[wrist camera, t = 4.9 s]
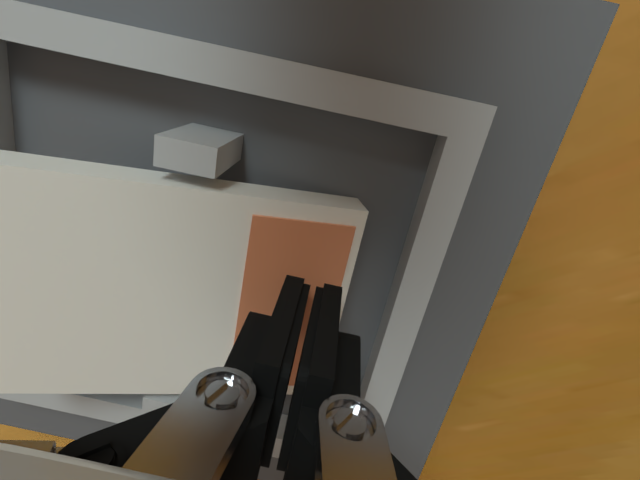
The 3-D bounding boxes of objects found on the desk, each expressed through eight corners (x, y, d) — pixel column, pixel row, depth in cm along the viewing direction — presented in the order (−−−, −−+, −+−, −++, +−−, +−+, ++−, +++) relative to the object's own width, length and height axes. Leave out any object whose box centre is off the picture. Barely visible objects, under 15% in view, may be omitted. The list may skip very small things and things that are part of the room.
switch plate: (564, 18, 13) (697, -16, 8) (398, 453, 21) (412, 577, 16) (-40, -115, 13) (-291, -235, 8) (13, 370, 21) (-98, 467, 16)
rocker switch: (357, 198, 13) (369, 212, 12) (314, 370, 16) (321, 396, 15) (-13, 147, 10) (-43, 160, 9) (11, 365, 13) (-10, 396, 12)
